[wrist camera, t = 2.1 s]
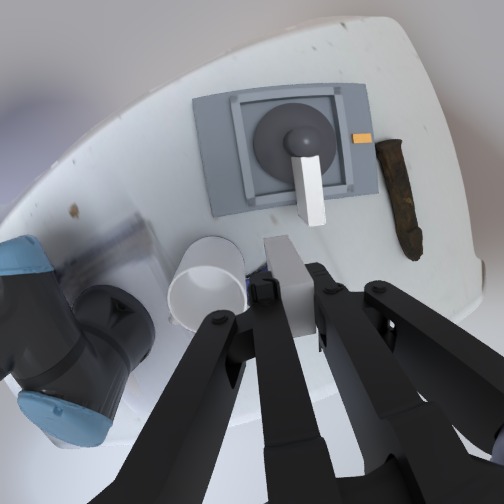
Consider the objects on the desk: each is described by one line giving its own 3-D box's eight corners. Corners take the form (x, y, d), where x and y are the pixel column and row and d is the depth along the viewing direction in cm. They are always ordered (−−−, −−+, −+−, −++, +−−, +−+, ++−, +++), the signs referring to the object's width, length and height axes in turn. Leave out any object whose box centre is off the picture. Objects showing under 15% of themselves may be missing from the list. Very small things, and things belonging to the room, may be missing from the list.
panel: (214, 213, 36) (211, 220, 32) (195, 102, 31) (189, 96, 27) (370, 190, 36) (384, 195, 32) (357, 87, 31) (370, 81, 27)
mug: (156, 276, 39) (133, 316, 29) (214, 221, 37) (206, 248, 27) (197, 314, 42) (188, 360, 32) (256, 265, 39) (264, 305, 29)
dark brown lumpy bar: (368, 143, 34) (384, 143, 30) (390, 137, 34) (407, 137, 30) (392, 261, 41) (406, 273, 36) (411, 253, 40) (426, 263, 36)
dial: (247, 109, 29) (250, 99, 23) (325, 102, 29) (346, 92, 23) (264, 217, 34) (270, 233, 28) (338, 206, 34) (360, 219, 28)
